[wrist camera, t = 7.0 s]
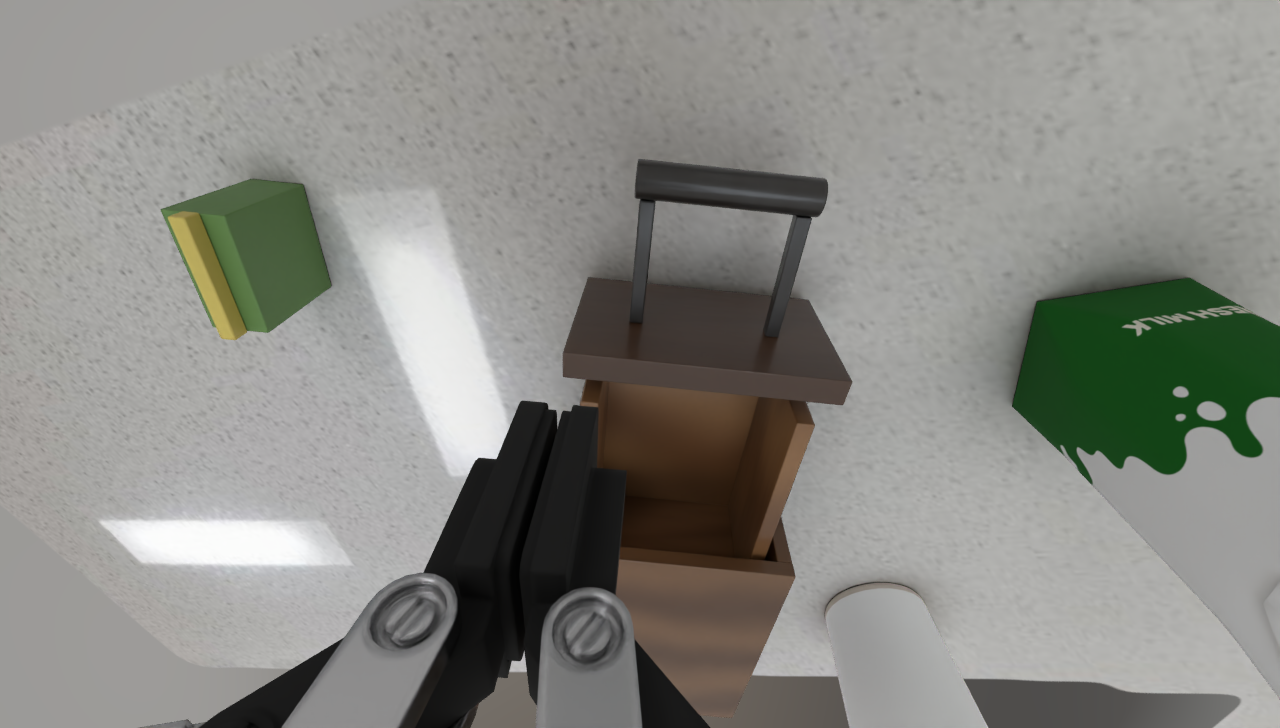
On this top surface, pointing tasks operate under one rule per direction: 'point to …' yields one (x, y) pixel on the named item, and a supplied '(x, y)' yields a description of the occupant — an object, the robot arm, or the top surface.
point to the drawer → (705, 376)
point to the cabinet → (705, 616)
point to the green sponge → (250, 254)
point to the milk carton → (1174, 435)
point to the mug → (895, 662)
